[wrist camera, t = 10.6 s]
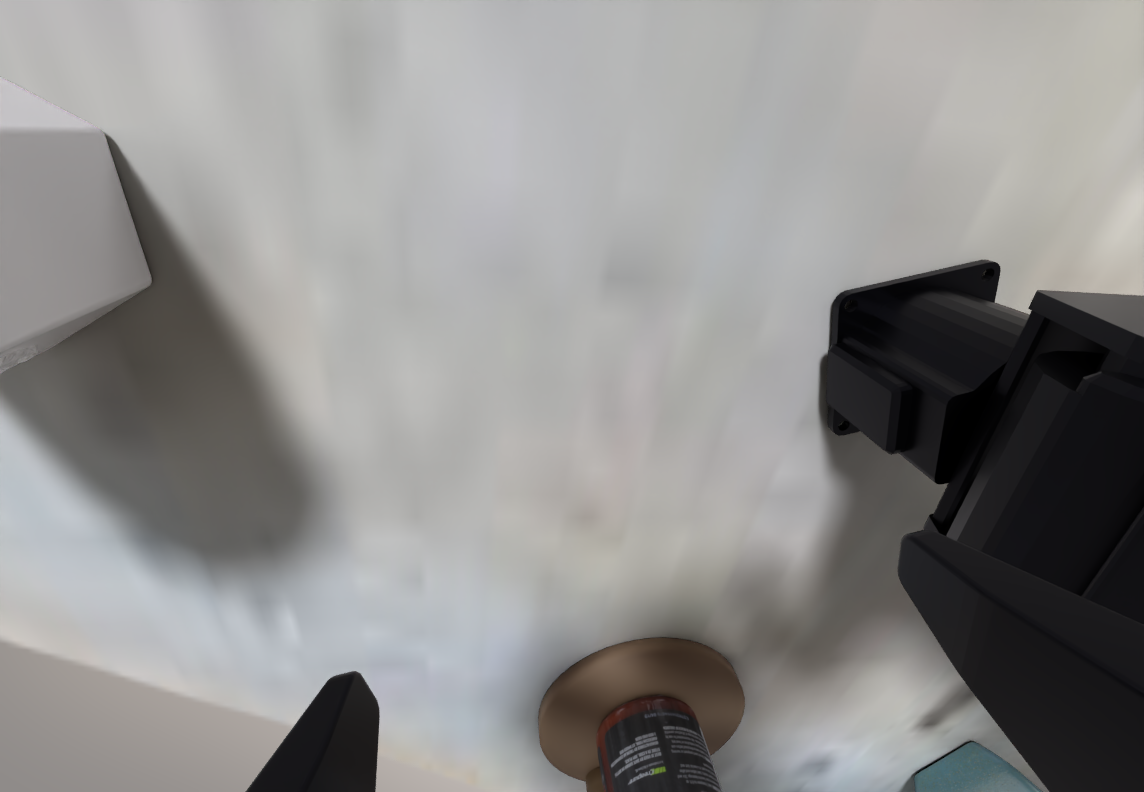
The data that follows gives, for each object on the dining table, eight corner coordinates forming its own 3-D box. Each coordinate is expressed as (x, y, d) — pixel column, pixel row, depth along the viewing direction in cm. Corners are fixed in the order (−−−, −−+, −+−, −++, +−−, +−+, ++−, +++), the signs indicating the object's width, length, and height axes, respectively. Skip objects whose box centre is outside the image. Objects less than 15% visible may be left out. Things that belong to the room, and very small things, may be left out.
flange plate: (591, 619, 27) (618, 763, 21) (775, 659, 31) (846, 793, 24) (505, 758, 32) (506, 911, 26) (674, 780, 35) (711, 919, 29)
